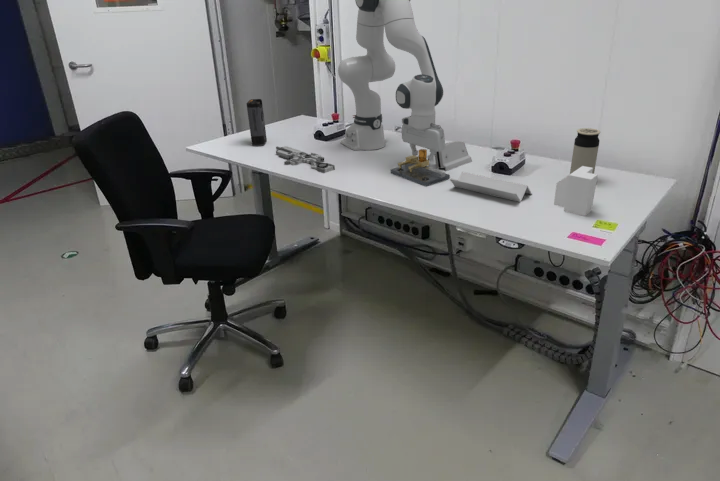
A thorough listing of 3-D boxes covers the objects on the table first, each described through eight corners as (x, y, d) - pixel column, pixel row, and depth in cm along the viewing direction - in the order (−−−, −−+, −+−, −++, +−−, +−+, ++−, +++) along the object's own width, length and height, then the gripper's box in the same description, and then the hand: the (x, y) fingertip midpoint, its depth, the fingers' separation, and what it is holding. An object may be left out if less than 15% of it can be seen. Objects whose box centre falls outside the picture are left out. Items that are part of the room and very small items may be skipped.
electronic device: (264, 146, 244) (258, 102, 235) (251, 146, 244) (245, 103, 235) (267, 140, 252) (262, 98, 243) (255, 141, 252) (249, 99, 243)
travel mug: (594, 184, 184) (603, 133, 176) (571, 183, 186) (578, 133, 177) (590, 176, 191) (598, 127, 183) (567, 176, 193) (574, 127, 184)
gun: (257, 150, 230) (284, 142, 239) (258, 156, 232) (285, 148, 240) (315, 171, 203) (344, 160, 212) (316, 178, 204) (344, 167, 213)
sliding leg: (407, 172, 198) (407, 153, 195) (423, 167, 202) (423, 148, 199) (412, 174, 196) (412, 154, 192) (429, 169, 200) (429, 150, 197)
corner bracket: (584, 216, 161) (591, 179, 155) (549, 207, 168) (554, 172, 162) (597, 205, 168) (604, 169, 162) (563, 197, 175) (568, 163, 169)
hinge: (446, 171, 202) (440, 146, 201) (437, 172, 206) (431, 147, 204) (472, 161, 212) (467, 136, 210) (463, 162, 216) (458, 138, 214)
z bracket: (460, 194, 192) (467, 179, 193) (524, 210, 177) (531, 194, 178) (449, 178, 183) (456, 163, 184) (515, 194, 168) (523, 177, 169)
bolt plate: (390, 173, 203) (390, 160, 201) (413, 166, 209) (413, 153, 207) (426, 186, 189) (426, 172, 186) (449, 178, 195) (450, 165, 193)
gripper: (449, 124, 186) (448, 162, 192) (411, 115, 201) (411, 150, 207) (437, 128, 183) (436, 165, 189) (398, 118, 198) (398, 153, 204)
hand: (422, 157), depth 198 cm, fingers open, 7 cm apart
